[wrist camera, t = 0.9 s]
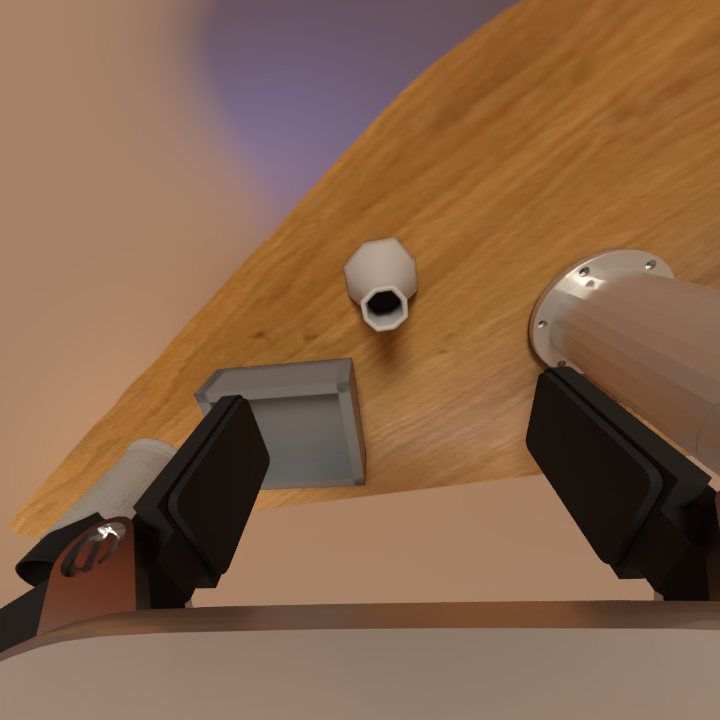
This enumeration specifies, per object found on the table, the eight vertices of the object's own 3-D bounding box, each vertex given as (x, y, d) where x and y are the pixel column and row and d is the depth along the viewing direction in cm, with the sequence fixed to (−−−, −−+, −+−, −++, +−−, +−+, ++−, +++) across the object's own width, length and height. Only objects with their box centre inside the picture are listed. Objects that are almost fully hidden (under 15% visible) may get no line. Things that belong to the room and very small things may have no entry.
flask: (365, 324, 30) (362, 372, 21) (330, 261, 27) (309, 286, 18) (429, 293, 28) (455, 331, 19) (399, 221, 25) (413, 228, 16)
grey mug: (148, 429, 38) (29, 545, 25) (230, 486, 43) (166, 608, 30) (115, 456, 41) (-7, 573, 28) (195, 506, 46) (124, 627, 33)
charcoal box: (351, 357, 32) (348, 381, 27) (365, 453, 39) (365, 485, 34) (217, 369, 33) (193, 394, 29) (254, 459, 40) (240, 490, 36)
